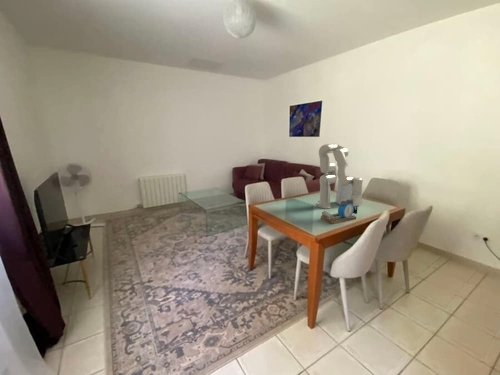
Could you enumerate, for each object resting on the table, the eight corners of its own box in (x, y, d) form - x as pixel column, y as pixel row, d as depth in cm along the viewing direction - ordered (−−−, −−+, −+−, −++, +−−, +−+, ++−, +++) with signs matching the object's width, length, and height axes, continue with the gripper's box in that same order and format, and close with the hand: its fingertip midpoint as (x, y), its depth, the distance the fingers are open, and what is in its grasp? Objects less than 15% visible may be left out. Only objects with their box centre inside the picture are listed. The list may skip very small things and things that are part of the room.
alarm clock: (343, 220, 182) (344, 202, 178) (336, 217, 187) (338, 200, 184) (353, 217, 188) (354, 200, 185) (347, 214, 193) (348, 198, 190)
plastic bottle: (355, 205, 217) (357, 177, 211) (339, 206, 218) (341, 177, 211) (348, 201, 232) (350, 174, 226) (334, 201, 232) (335, 175, 226)
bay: (323, 218, 188) (323, 215, 187) (344, 214, 195) (344, 212, 195) (334, 223, 176) (334, 221, 175) (355, 219, 183) (356, 216, 183)
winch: (319, 218, 186) (320, 209, 184) (324, 217, 188) (325, 209, 186) (333, 225, 172) (333, 215, 170) (338, 224, 174) (338, 214, 172)
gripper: (359, 190, 193) (357, 210, 197) (346, 192, 187) (344, 213, 192) (366, 192, 186) (364, 213, 190) (353, 194, 181) (351, 216, 185)
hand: (354, 213), depth 191 cm, fingers closed
